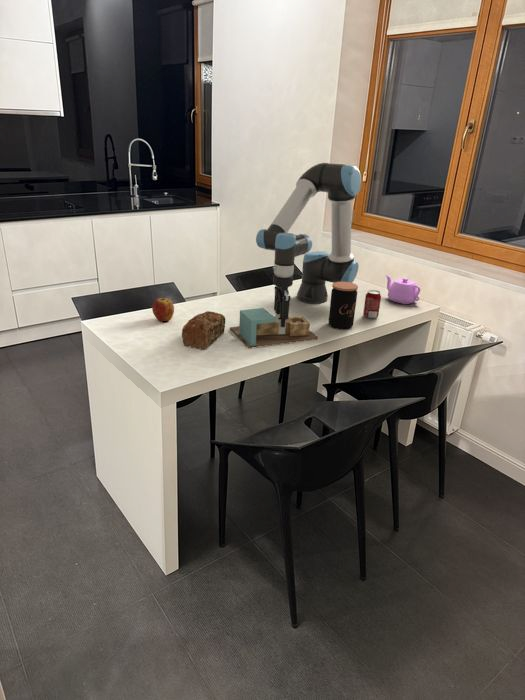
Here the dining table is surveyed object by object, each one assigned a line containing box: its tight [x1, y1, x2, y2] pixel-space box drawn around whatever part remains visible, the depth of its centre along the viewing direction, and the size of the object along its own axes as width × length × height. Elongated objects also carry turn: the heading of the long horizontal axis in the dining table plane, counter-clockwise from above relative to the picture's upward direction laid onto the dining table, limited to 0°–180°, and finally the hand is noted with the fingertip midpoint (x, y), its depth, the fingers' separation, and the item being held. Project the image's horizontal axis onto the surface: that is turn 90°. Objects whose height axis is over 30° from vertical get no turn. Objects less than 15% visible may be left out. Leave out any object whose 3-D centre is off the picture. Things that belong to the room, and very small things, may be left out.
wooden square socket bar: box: [256, 316, 311, 336], centre depth 197 cm, size 22×8×5 cm, turn 104°
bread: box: [181, 310, 226, 350], centre depth 190 cm, size 19×11×10 cm, turn 160°
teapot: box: [385, 274, 421, 305], centre depth 246 cm, size 20×13×12 cm, turn 48°
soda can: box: [362, 289, 382, 320], centre depth 221 cm, size 7×7×12 cm
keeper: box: [238, 307, 276, 348], centre depth 191 cm, size 12×10×11 cm
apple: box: [151, 297, 175, 322], centre depth 207 cm, size 9×9×10 cm
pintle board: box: [229, 321, 318, 349], centre depth 199 cm, size 20×30×6 cm, turn 114°
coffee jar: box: [328, 282, 359, 331], centre depth 209 cm, size 11×11×18 cm
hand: (279, 331), depth 198 cm, fingers closed on wooden square socket bar, 4 cm apart
